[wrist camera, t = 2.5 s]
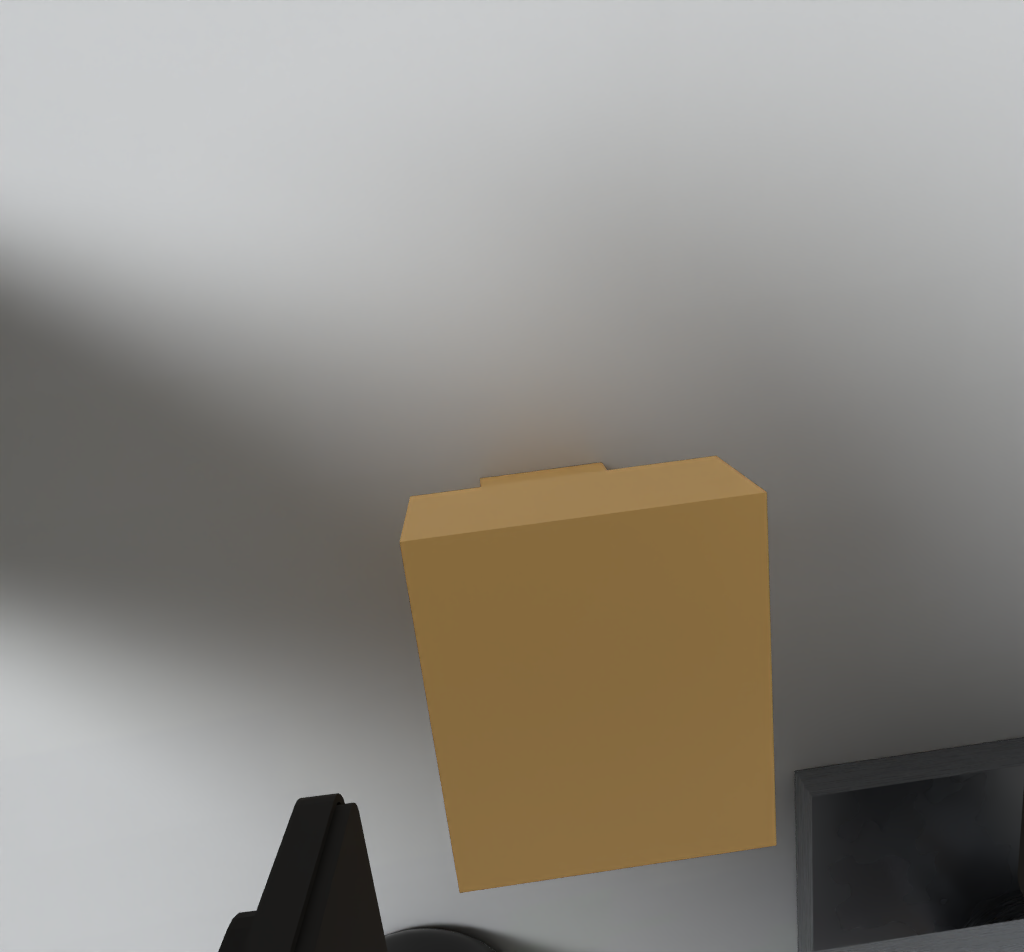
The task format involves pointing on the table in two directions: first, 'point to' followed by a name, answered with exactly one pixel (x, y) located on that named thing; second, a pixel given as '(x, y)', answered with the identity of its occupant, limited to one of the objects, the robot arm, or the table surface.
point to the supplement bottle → (433, 941)
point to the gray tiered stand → (912, 852)
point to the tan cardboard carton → (596, 666)
